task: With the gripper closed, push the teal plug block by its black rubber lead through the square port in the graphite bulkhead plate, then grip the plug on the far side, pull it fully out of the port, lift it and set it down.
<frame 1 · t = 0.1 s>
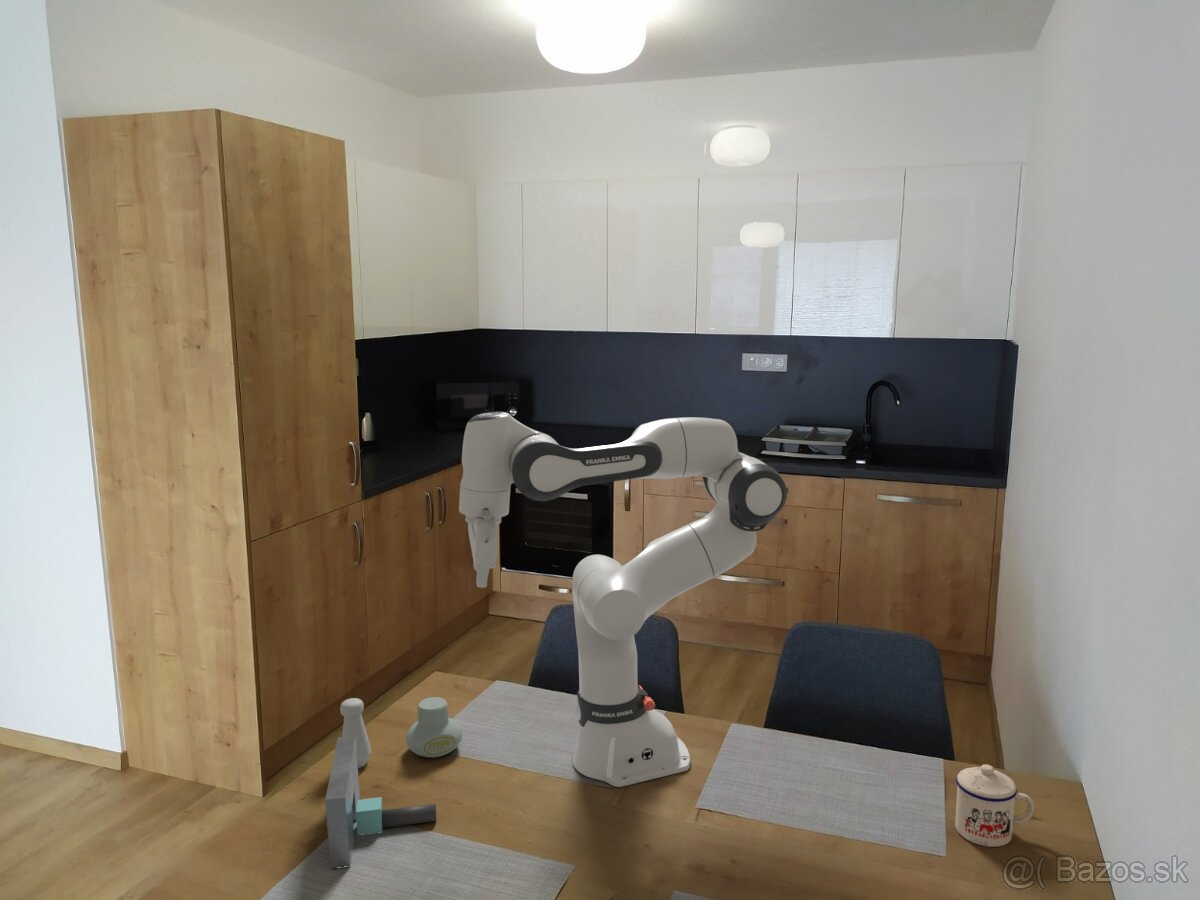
hand: (479, 577, 157), 39 cm above the table, tool pointing down, fingers open, 8 cm apart
teacup with lid: (992, 833, 144), on the table
air freshener: (435, 751, 174), on the table
salt shaker: (356, 764, 169), on the table
plug: (397, 824, 150), on the table
bulkhead: (346, 830, 148), on the table
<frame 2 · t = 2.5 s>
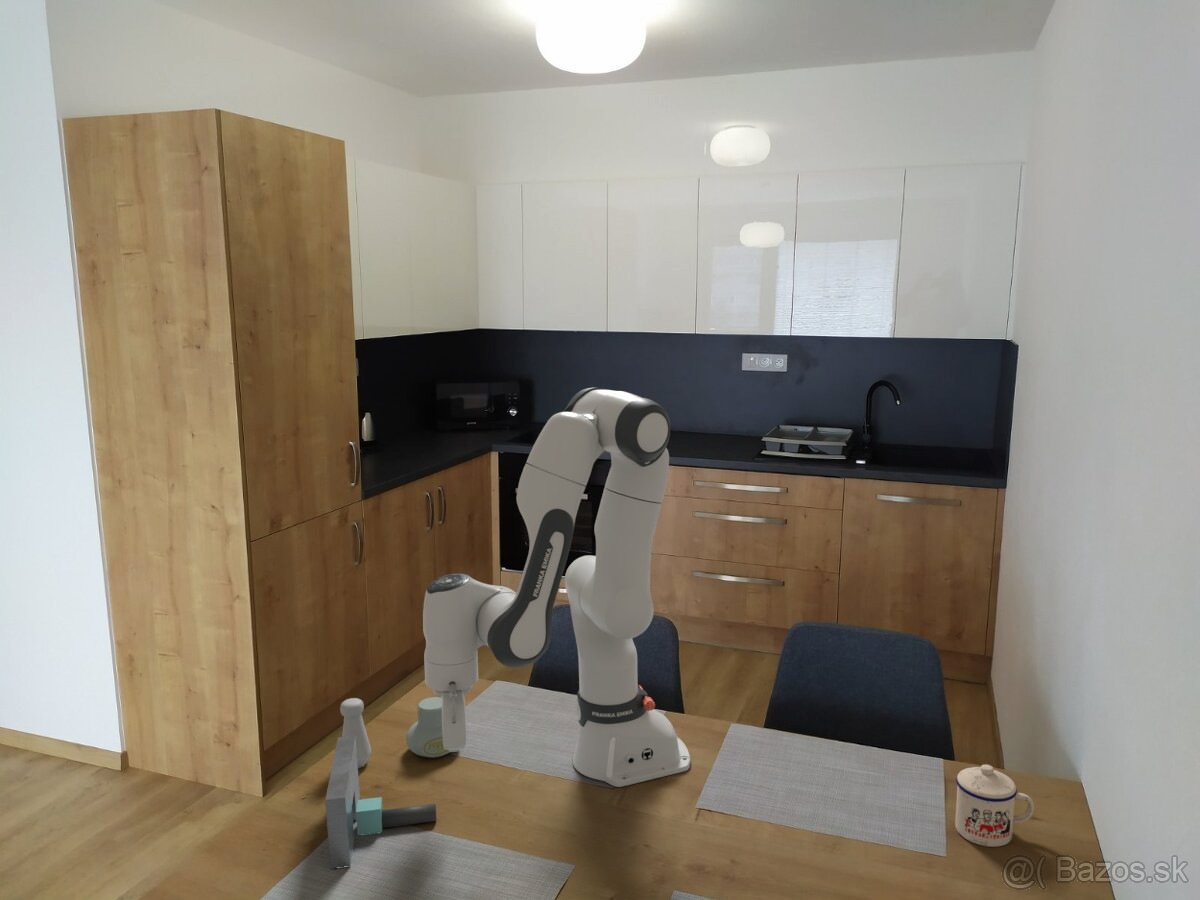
hand: (453, 747, 149), 13 cm above the table, tool pointing down, fingers closed
nothing on the table moved.
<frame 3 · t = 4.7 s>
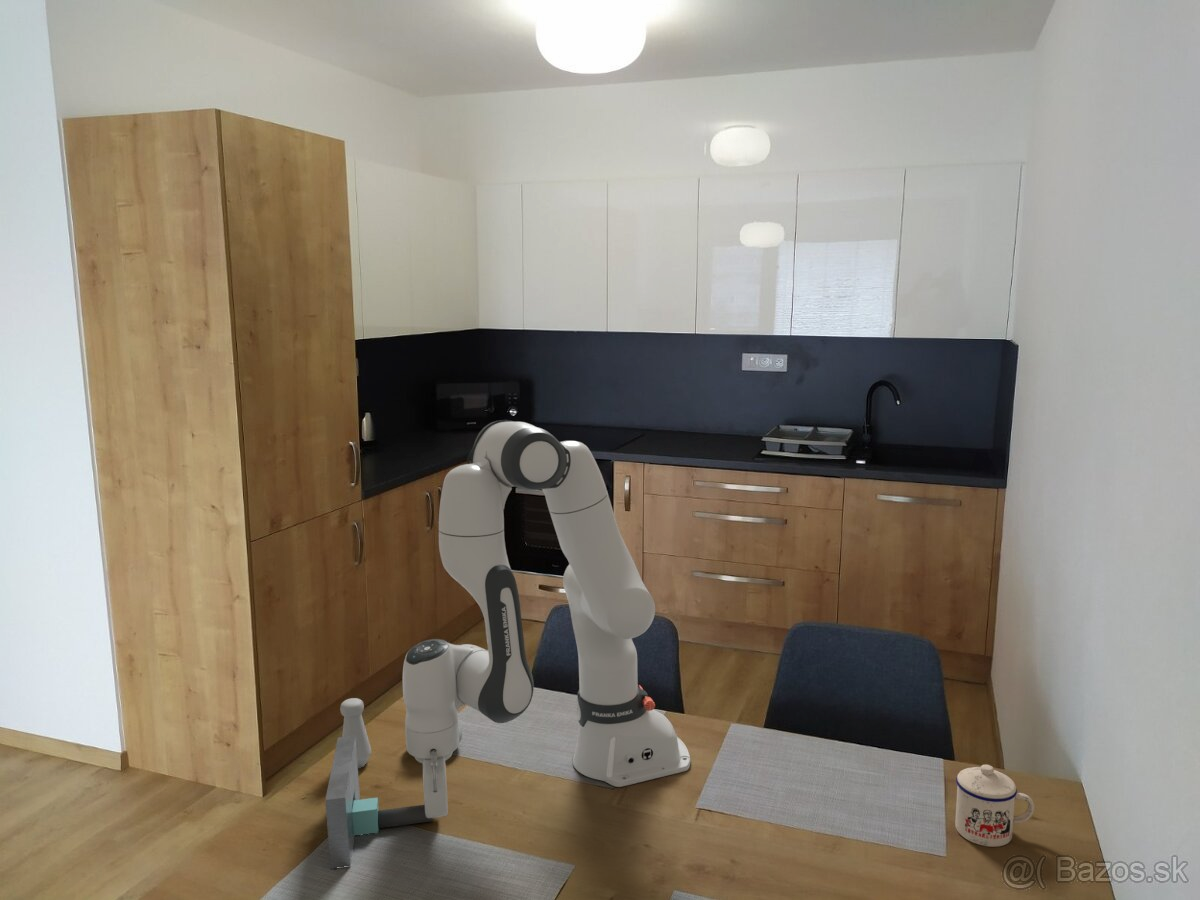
hand: (437, 810, 150), 2 cm above the table, tool pointing down, fingers closed, pressing on plug
plug: (393, 824, 150), on the table, touching gripper
everything else where it was.
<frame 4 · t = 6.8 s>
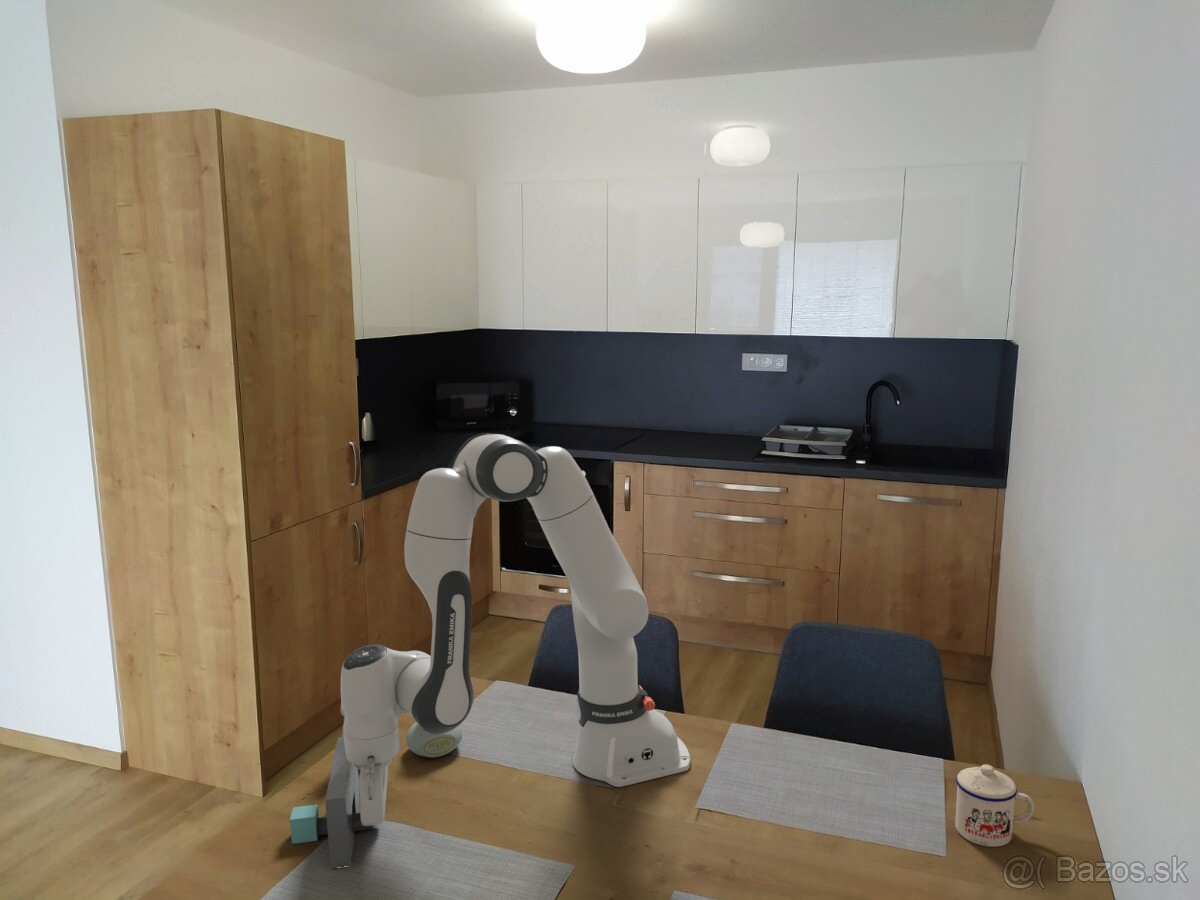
hand: (377, 818, 149), 2 cm above the table, tool pointing down, fingers closed, pressing on plug
plug: (333, 832, 148), on the table, touching gripper
everything else where it was.
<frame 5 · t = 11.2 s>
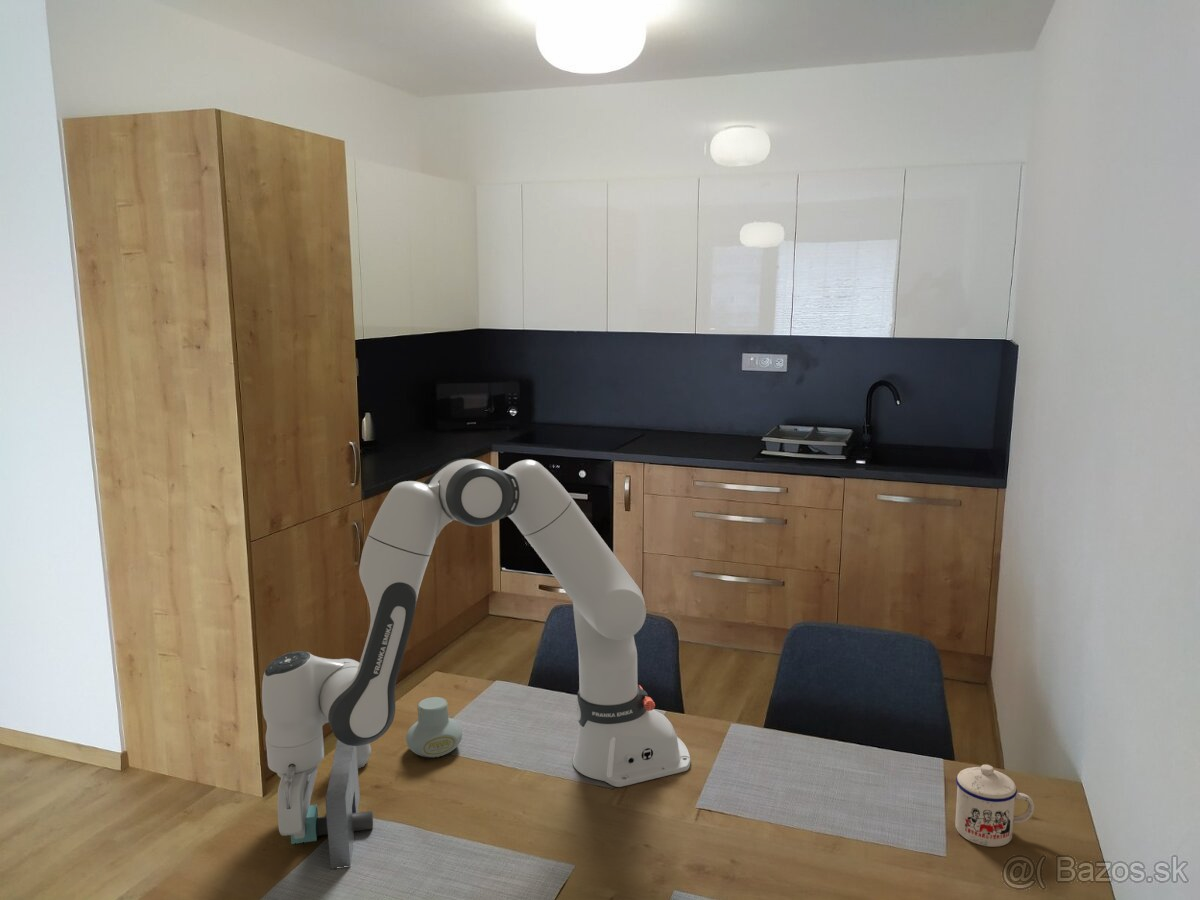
hand: (302, 826, 147), 2 cm above the table, tool pointing down, fingers closed on plug, 4 cm apart
plug: (333, 832, 148), on the table, touching gripper
everything else where it was.
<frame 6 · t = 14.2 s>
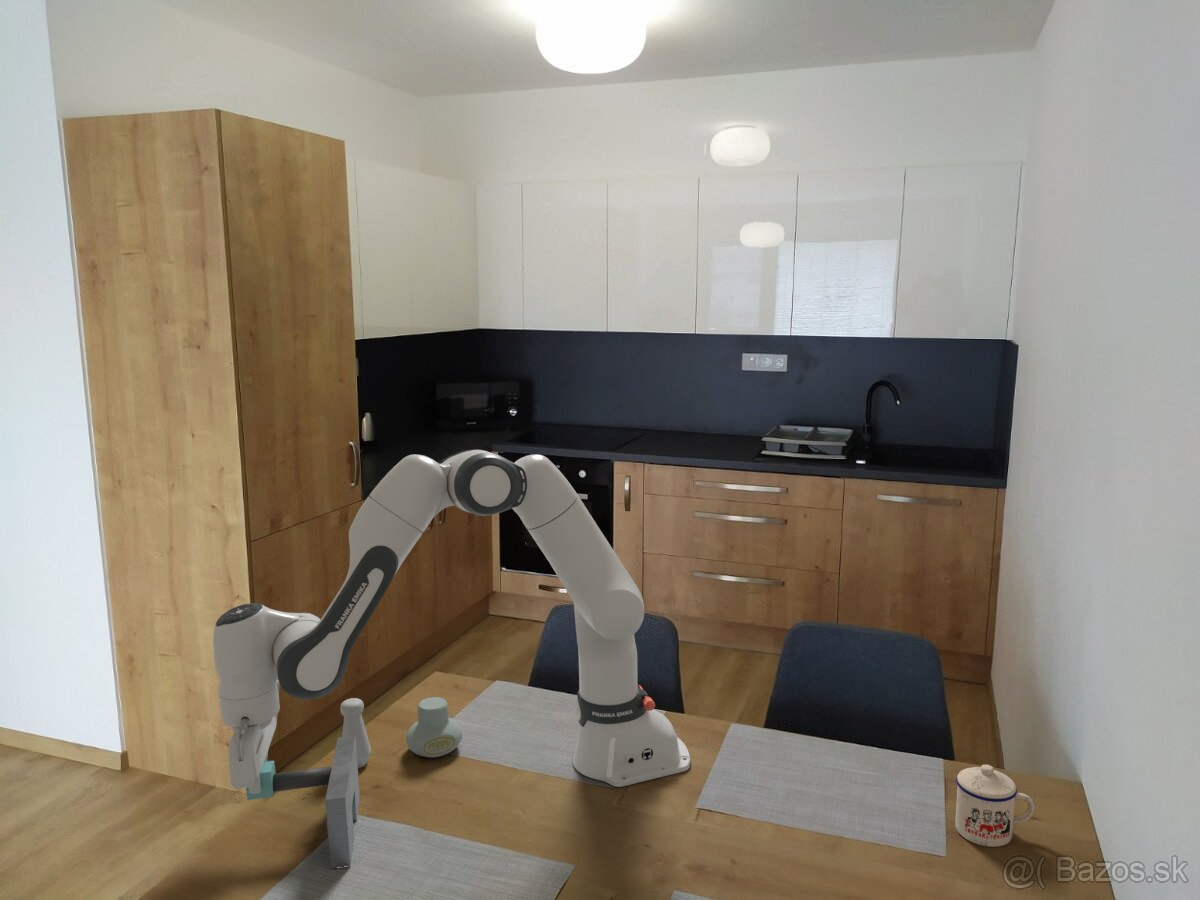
hand: (258, 782, 144), 11 cm above the table, tool pointing down, fingers closed on plug, 4 cm apart
plug: (290, 788, 145), point 9 cm above the table, touching gripper
everything else where it was.
when the fingers open (2 cm above the table, at t = 16.9 s): plug stays where it is, on the table.
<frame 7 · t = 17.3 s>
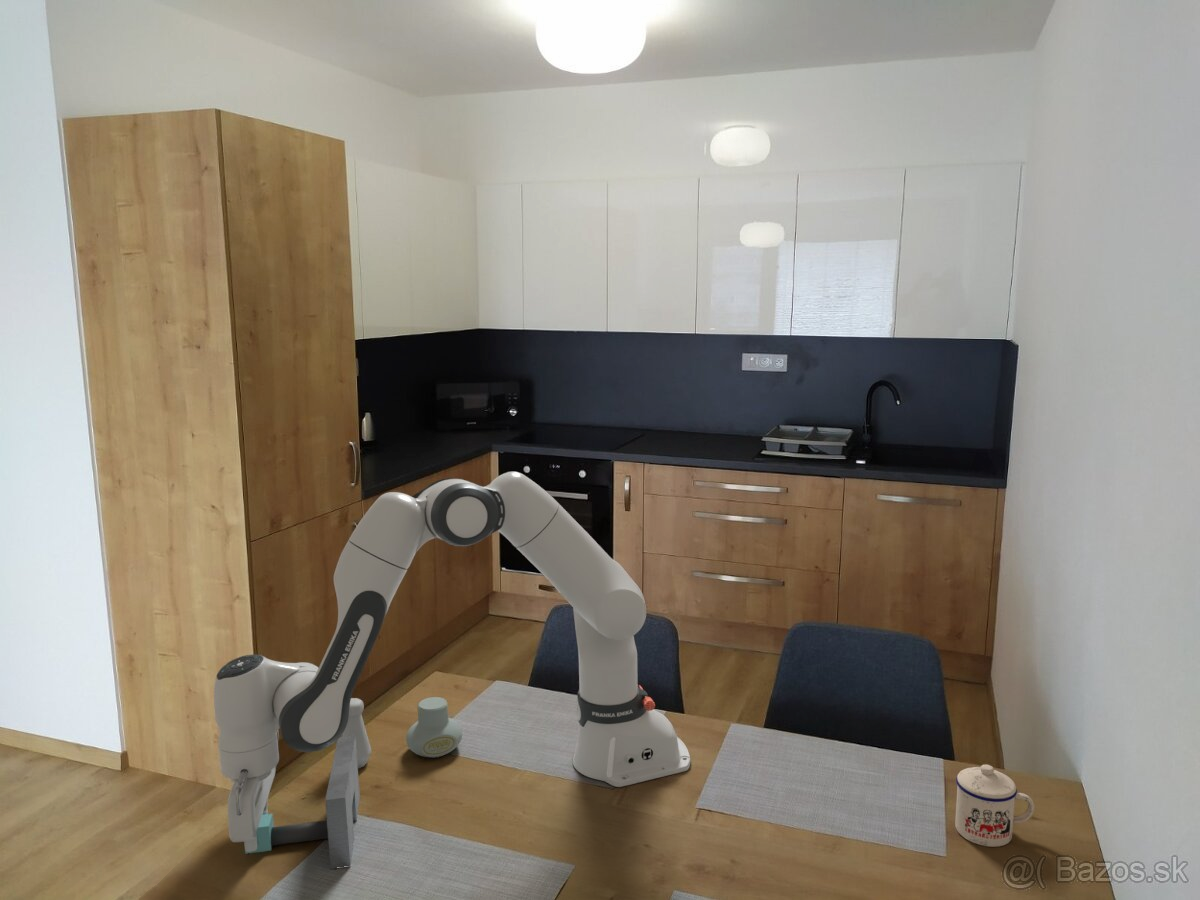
hand: (257, 833, 144), 2 cm above the table, tool pointing down, fingers open, 7 cm apart
plug: (288, 841, 145), on the table
everything else where it was.
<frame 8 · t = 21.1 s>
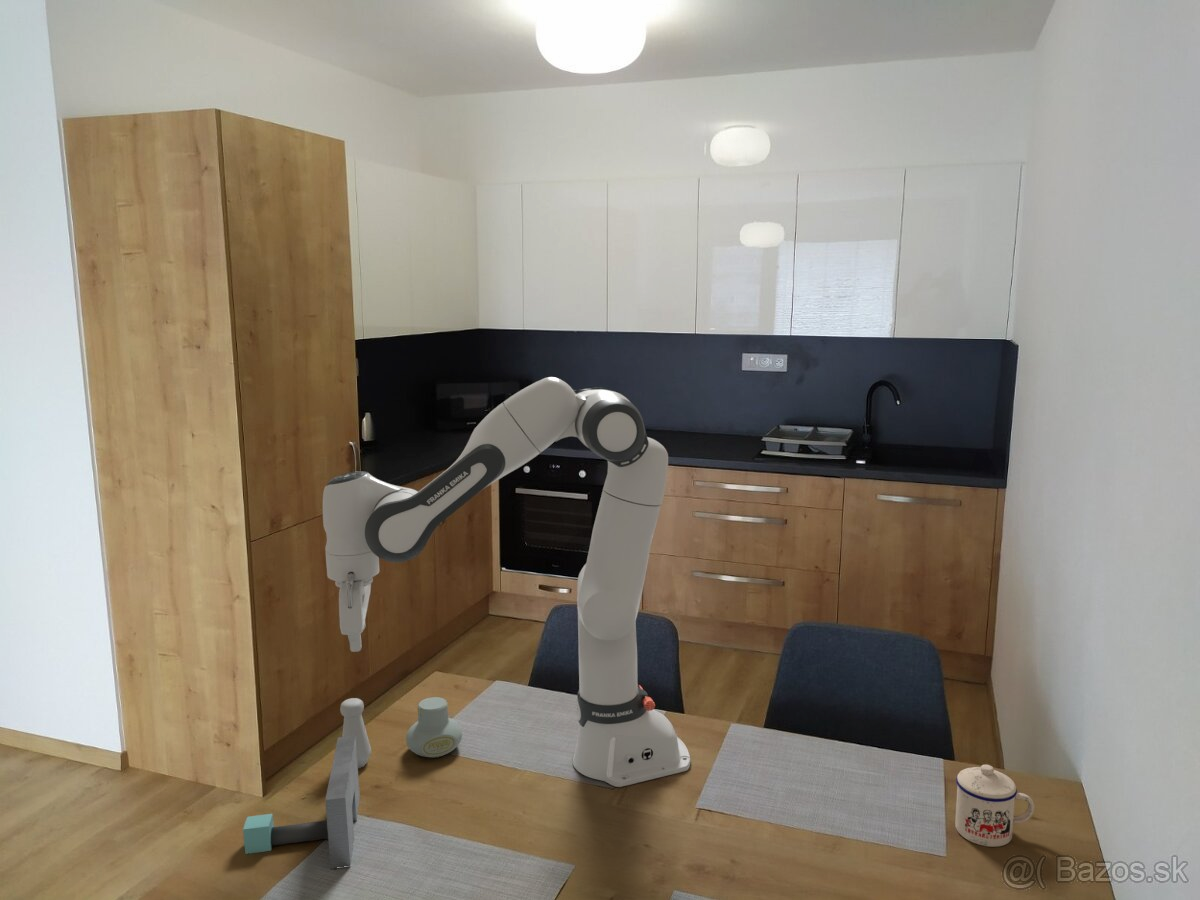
hand: (358, 639, 155), 29 cm above the table, tool pointing down, fingers open, 8 cm apart
nothing on the table moved.
at the end: plug inside the target area (4.6 cm from its centre), on the table; plug touching table; the gripper is holding nothing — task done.
